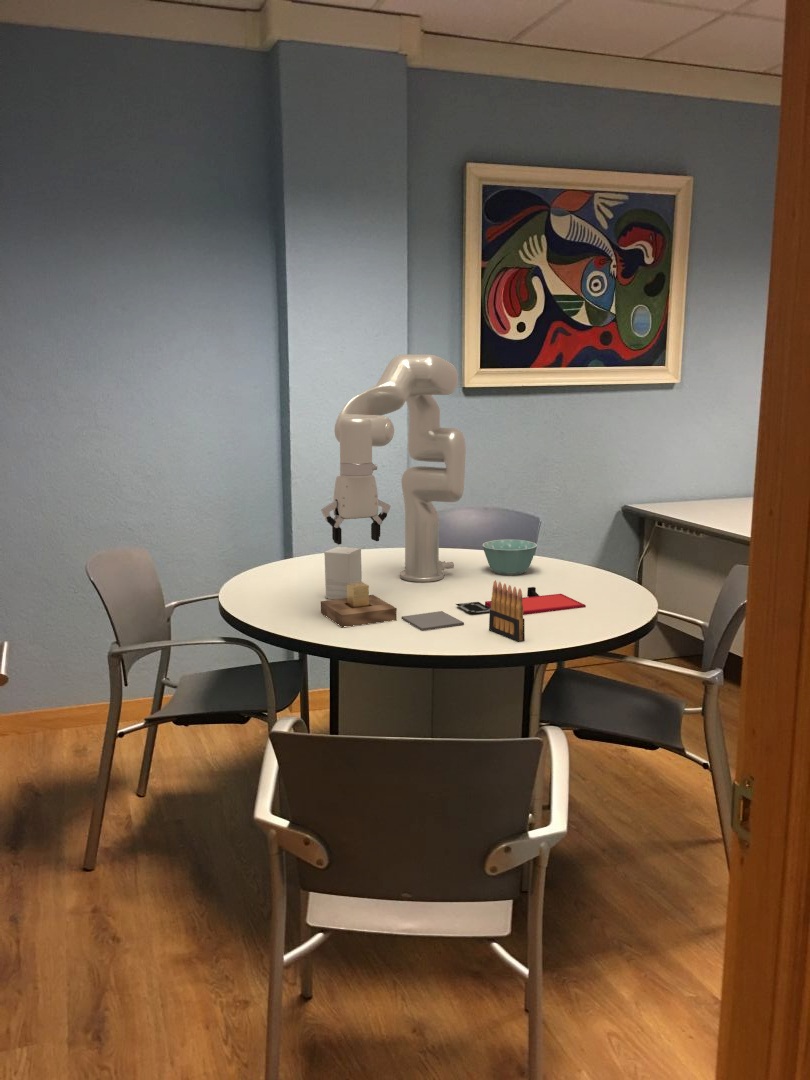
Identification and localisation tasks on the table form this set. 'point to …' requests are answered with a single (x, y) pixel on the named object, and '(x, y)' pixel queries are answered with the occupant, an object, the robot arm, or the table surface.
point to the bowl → (509, 555)
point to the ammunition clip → (507, 612)
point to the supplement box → (341, 570)
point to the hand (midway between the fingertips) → (356, 541)
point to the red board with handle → (531, 603)
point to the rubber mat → (432, 620)
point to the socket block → (358, 612)
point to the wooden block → (357, 595)
